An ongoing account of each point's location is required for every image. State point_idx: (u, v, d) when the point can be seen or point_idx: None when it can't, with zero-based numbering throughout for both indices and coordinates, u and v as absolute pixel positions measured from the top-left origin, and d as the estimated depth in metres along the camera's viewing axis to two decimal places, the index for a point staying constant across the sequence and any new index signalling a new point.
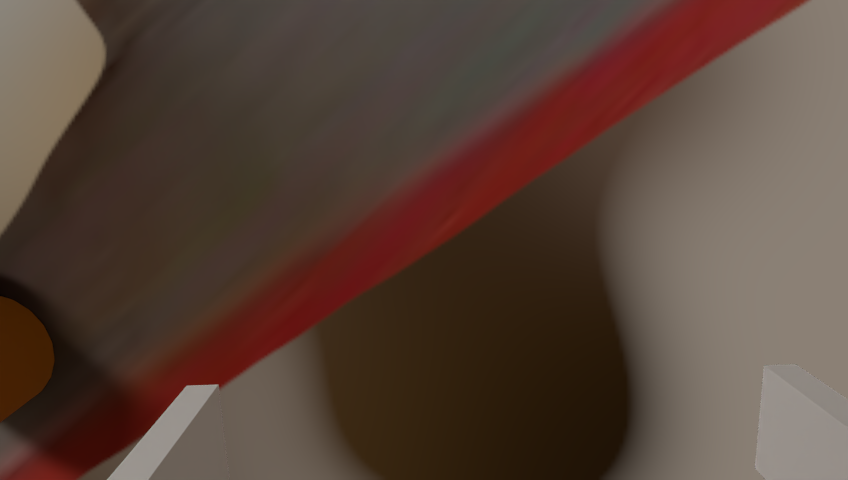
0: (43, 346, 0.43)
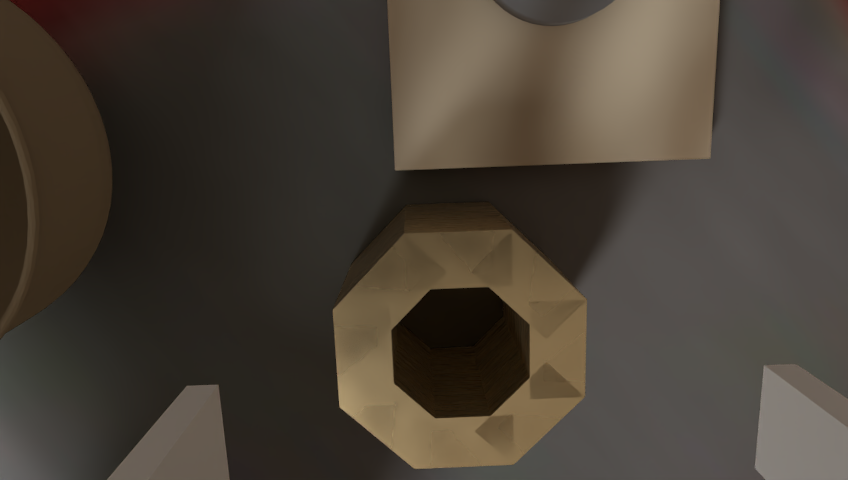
0: None
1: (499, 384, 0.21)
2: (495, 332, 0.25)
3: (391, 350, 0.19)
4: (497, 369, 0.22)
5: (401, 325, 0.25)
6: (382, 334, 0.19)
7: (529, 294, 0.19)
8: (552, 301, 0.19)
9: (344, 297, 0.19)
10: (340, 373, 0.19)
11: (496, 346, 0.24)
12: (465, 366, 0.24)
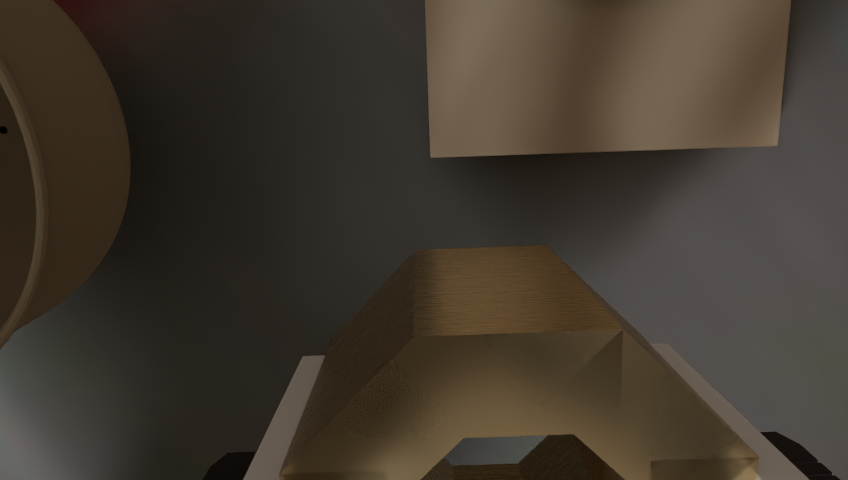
0: None
1: None
2: (555, 448, 0.16)
3: None
4: None
5: None
6: None
7: (651, 448, 0.10)
8: (693, 460, 0.10)
9: (301, 451, 0.10)
10: None
11: None
12: None
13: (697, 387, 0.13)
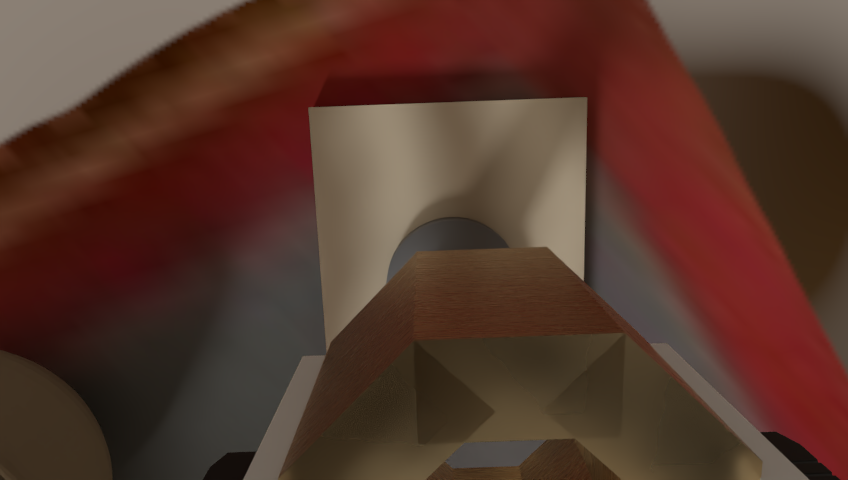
0: None
1: None
2: (556, 451, 0.16)
3: None
4: None
5: None
6: None
7: (653, 452, 0.10)
8: (696, 465, 0.10)
9: (300, 455, 0.10)
10: None
11: None
12: None
13: (697, 387, 0.13)
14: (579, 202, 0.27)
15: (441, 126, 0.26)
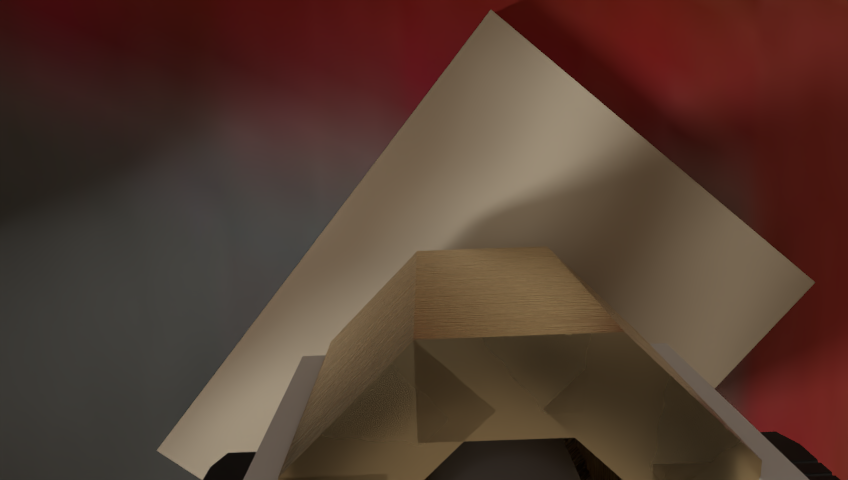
0: None
1: None
2: None
3: None
4: None
5: None
6: None
7: (652, 451, 0.10)
8: (695, 463, 0.10)
9: (300, 454, 0.10)
10: None
11: None
12: None
13: (697, 387, 0.13)
14: None
15: (628, 176, 0.17)
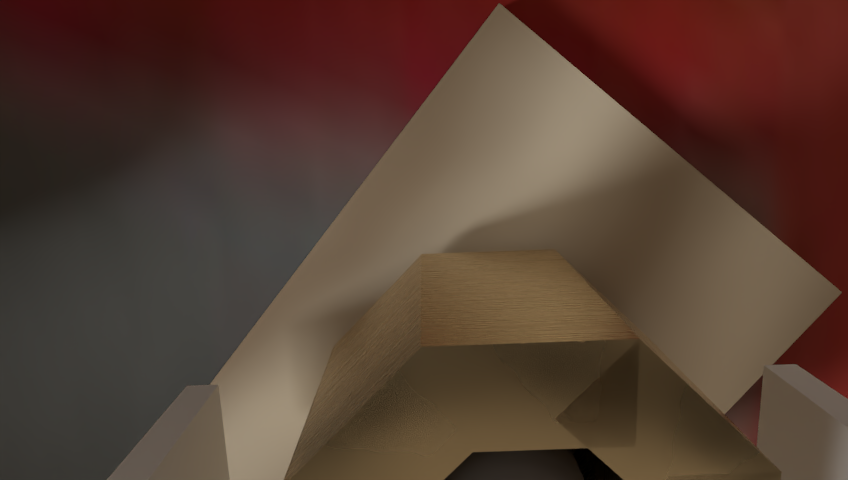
0: None
1: None
2: None
3: None
4: None
5: None
6: None
7: (668, 462, 0.10)
8: (713, 475, 0.10)
9: (303, 465, 0.10)
10: None
11: None
12: None
13: None
14: None
15: (644, 179, 0.16)
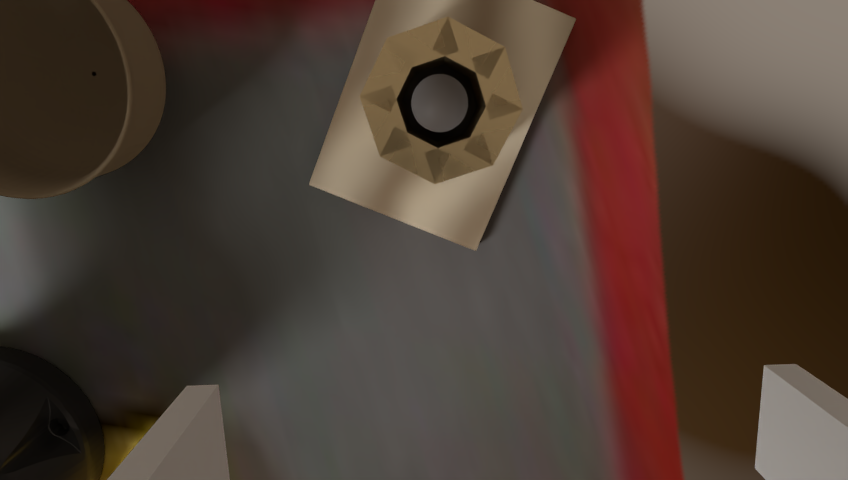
0: None
1: (474, 125, 0.33)
2: (474, 115, 0.37)
3: (400, 112, 0.32)
4: (473, 123, 0.34)
5: (413, 130, 0.38)
6: (392, 103, 0.32)
7: (470, 53, 0.31)
8: (484, 53, 0.31)
9: (364, 87, 0.32)
10: (374, 134, 0.32)
11: (474, 118, 0.36)
12: (458, 136, 0.36)
13: None
14: (542, 87, 0.38)
15: None
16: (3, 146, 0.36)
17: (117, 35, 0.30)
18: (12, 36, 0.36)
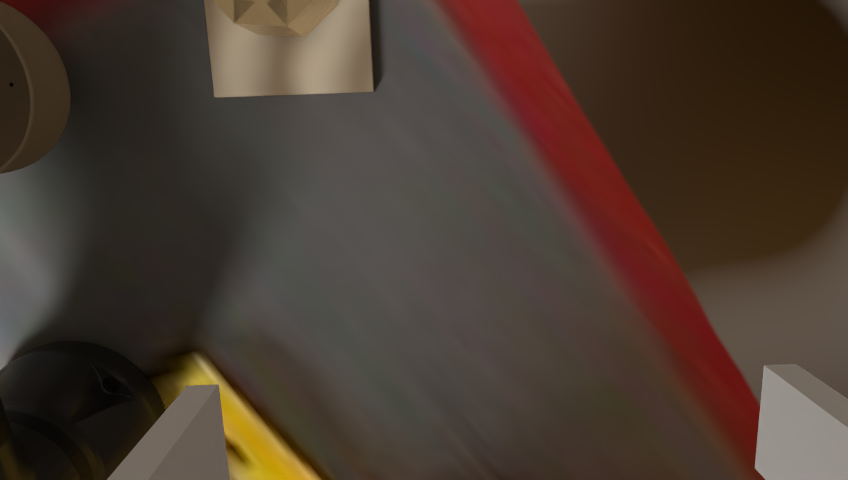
0: None
1: None
2: None
3: None
4: None
5: None
6: None
7: None
8: None
9: None
10: (221, 7, 0.37)
11: None
12: None
13: None
14: None
15: None
16: None
17: None
18: None
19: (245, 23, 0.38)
